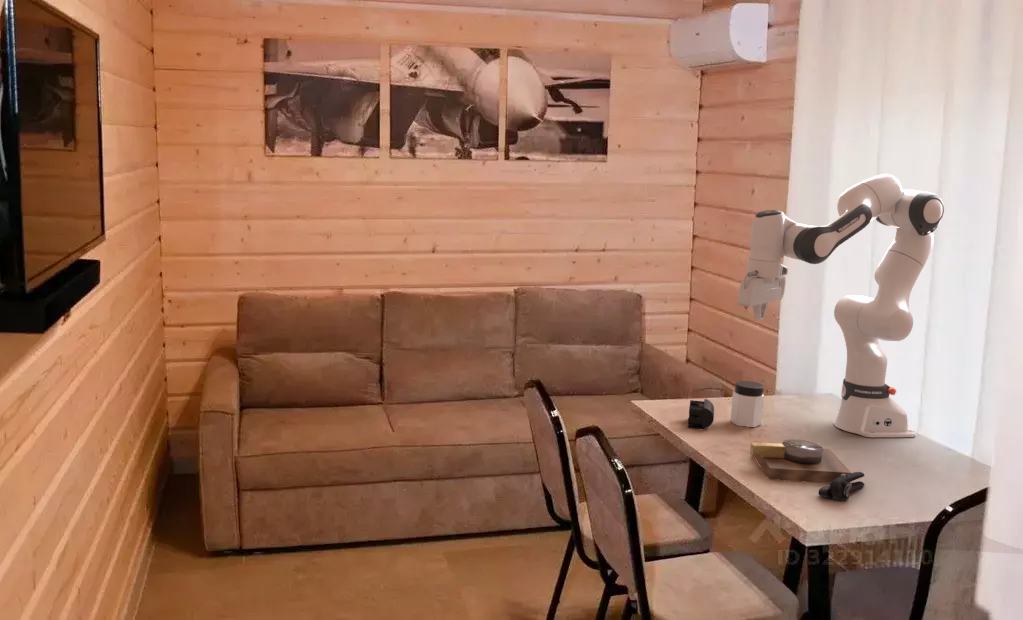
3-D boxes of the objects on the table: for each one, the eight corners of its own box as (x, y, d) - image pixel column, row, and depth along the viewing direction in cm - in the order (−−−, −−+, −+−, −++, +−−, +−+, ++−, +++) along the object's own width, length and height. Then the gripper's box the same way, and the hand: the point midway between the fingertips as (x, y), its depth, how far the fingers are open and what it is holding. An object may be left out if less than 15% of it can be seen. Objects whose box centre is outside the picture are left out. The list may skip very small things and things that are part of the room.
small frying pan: (813, 451, 248) (814, 440, 247) (827, 464, 238) (828, 453, 237) (745, 448, 247) (746, 437, 246) (756, 461, 237) (757, 450, 237)
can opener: (841, 507, 219) (844, 484, 218) (813, 498, 224) (816, 475, 223) (875, 489, 232) (878, 468, 231) (848, 481, 237) (851, 460, 236)
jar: (765, 427, 277) (769, 388, 275) (739, 428, 275) (743, 388, 273) (751, 418, 286) (755, 380, 284) (726, 419, 284) (730, 380, 282)
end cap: (712, 431, 272) (714, 408, 270) (687, 428, 273) (689, 406, 272) (712, 421, 281) (714, 399, 280) (688, 419, 283) (690, 397, 281)
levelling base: (828, 459, 252) (829, 448, 251) (850, 484, 234) (851, 472, 233) (753, 455, 252) (754, 444, 252) (768, 479, 235) (770, 467, 234)
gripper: (756, 274, 250) (751, 325, 253) (791, 268, 265) (786, 316, 268) (734, 271, 254) (730, 321, 257) (770, 265, 269) (765, 313, 272)
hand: (759, 318), depth 262 cm, fingers closed
